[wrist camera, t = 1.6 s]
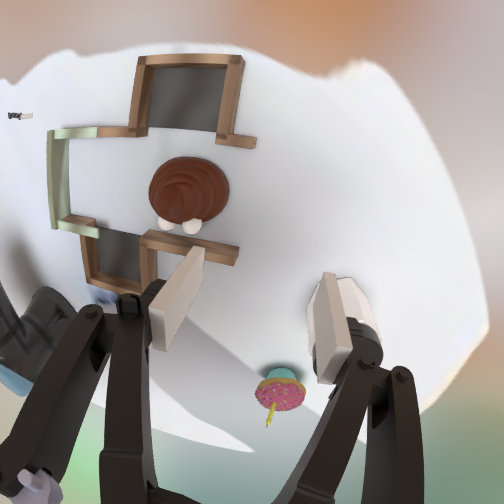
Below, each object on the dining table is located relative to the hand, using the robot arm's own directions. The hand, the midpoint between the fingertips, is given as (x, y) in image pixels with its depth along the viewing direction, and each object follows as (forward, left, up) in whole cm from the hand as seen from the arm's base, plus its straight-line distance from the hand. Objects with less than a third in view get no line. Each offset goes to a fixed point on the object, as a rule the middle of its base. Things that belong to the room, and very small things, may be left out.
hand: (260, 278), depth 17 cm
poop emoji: (-11, 0, -18) cm, 21 cm away
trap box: (-19, 0, -17) cm, 25 cm away
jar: (+11, -12, -17) cm, 24 cm away
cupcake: (+7, -30, -17) cm, 36 cm away
